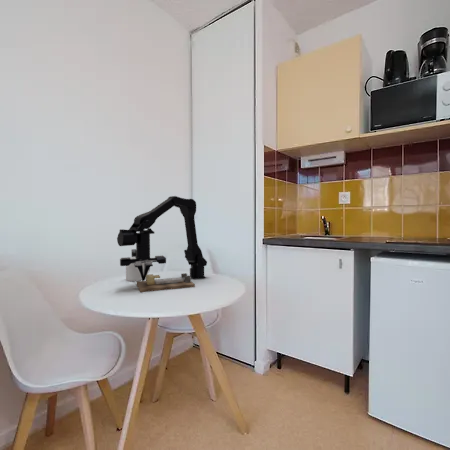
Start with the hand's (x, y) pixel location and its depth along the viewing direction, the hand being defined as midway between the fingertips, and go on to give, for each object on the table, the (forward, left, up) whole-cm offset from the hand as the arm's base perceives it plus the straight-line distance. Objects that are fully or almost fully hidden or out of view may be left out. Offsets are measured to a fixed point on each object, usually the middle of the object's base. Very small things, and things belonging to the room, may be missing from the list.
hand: (143, 280), depth 121 cm
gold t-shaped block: (-4, 0, -1) cm, 4 cm away
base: (-9, 0, -3) cm, 10 cm away
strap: (-12, 0, -2) cm, 12 cm away
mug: (0, -18, -3) cm, 18 cm away
